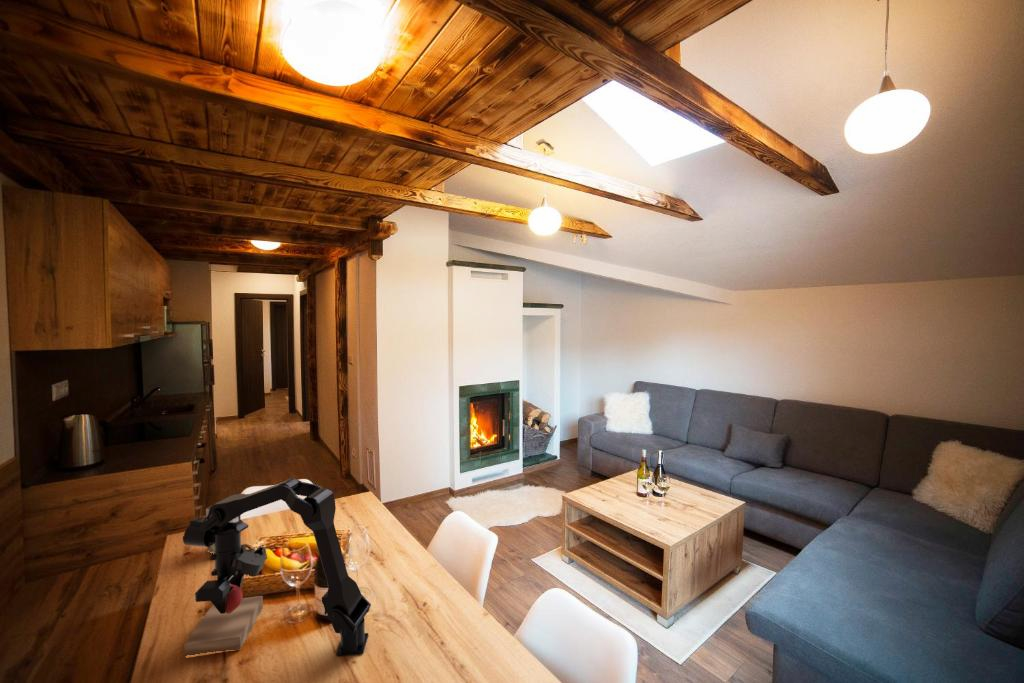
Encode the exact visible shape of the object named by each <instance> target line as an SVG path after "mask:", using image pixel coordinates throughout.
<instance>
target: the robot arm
mask: <svg viewBox="0 0 1024 683" xmlns="http://www.w3.org/2000/svg"><path fill="white" fill-rule="evenodd" d="M299 496H302V497H304V498H301V497H299ZM279 501H283V502H284V503H285V504H286V505H287V506H288V508H289V509H290V511H292V512H294V513H295V514H298V515H299V516H300V518H301V521H302V522H303V524H304V526H306V527H307V528H308V529H309V530H310V531H312V533H313V536H314V537H313V538H314V540H315V543H316V547H317V549H318V555H319V558H320V560H321V565H322V569H323V573H324V576H325V579H326V583H327V591H326V592H325V593H324V595H322V597H321V603H322V605H323V608H324V615H327V617H328V620H329V621H330V622H331V624H332V625H331V626H332V629H333V630H334V633H335V634H339V635H340V642H339V644H338V646H337V651H336V653H335V656H336V657H342V656H352V655H363V654H364V653H365V648H366V646H367V643H368V639H369V633H368V632H366V631H365V624H366V623H365V620H366V619H365V617H366V615H367V613H369V612H370V610H371V605H372V604H371V603H370V602H369V601H368V600H367V598H366V597H365V596H364V595H363V593H362V592H361V590H360V588H359V586H358V583H357V582H356V581H355V580H354V579H353V578H352V577H351V576H349V574H348V570H347V566H346V562H345V560H344V556H343V551H342V548H341V544H340V540H339V538H338V533H337V530H336V526H335V516H336V509H337V508H336V498H335V494H334V493H333V491H332V490H330V489H328V488H325V487H322V486H320V485H318V484H315V483H310V482H306V481H305V482H304V481H302V480H300V479H297V478H295V477H294V478H293V477H291V478H288V479H286V480H285V481H282V482H279V483H277V484H273V485H270V486H268V487H265V488H263V489H260V490H257V491H254V492H251V493H237V494H232V495H229V496H228V497H225V498H223V499H221V500H220V501H218V502H216V503H214V504H213V505H210V506H209V507H210V508H209V509H210V510H209V514H208V516H207V517H206V516H205V518H203V517H194V518H193V519H191V520H189V525H188V526H187V528H186V529H185V531H184V534H183V536H182V542H183V544H184V545H186V546H192V547H204V548H207V547H209V546H212V545H213V544H214V548H215V553H214V554H212V555H210V561H214V569H213V570H212V571H211V575H210V576H211V577H215V576H216V579H215V580H214V579H213V580H206V581H205V582H204V583H203V584H202V585H201V586H200V588H199V589H197V591H196V592H194V600H195V602H196V603H201V602H210V603H211V604H212V605H214V606H215V607H216V609H217V610H218V611H219V612H220V613H221V614H223V613H225V612H226V608H227V599H228V594H229V593H230V591H231V590H232V589H233V588H234V587H230V584H232V585H236V586H238V587H239V588H240V589H241V588H242V585H243V581H244V578H245V575H247V576H249V577H257V576H258V574H259V573H260V572H261V570H263V567H264V565H265V562H266V560H267V559H268V556H267V555H268V554H267V552H266V550H267V549H266V547H265V546H263V545H262V546H260V545H259V546H258V547H257V548H256V549H254V548H250V549H249V548H247V549H246V546H245V544H242V532H243V531H245V530H246V529H247V528H249V524H248V523H246V522H244V521H243V520H242V519H241V520H239V521H237V522H230V521H231V520H233V519H235V518H236V517H238V516H240V517H241V515H243V514H244V513H246V512H249V511H252V510H255V509H258V508H261V507H264V506H267V505H270V504H272V503H276V502H279ZM241 590H242V589H241Z"/></svg>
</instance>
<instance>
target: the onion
mask: <svg viewBox="0 0 1024 683" xmlns="http://www.w3.org/2000/svg"><path fill="white" fill-rule="evenodd" d="M230 587H234V588H233V589H232V590H231V591H230V593H229V594H228V599H227V608H226V612H225V613H227V614H229V613H231V612H232V611H234V610H235V609H236V608H237V607H238V606H239V605H240V603H241V601H242V598H244V597H243V596H244V595H243V594H244V593H243V591H242V589H240V588H239V587H238V586H236V585H232V584H230Z"/></svg>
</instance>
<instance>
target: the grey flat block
mask: <svg viewBox="0 0 1024 683" xmlns="http://www.w3.org/2000/svg"><path fill="white" fill-rule="evenodd" d="M263 599H264V598H263V595H258V596H249V597H242V601H241V603H240V605H239V606H238V607H237V608H236V609H235V610H234V611H232V612H231V613H229V614H227V613H223V614H221V613H220V612H219V611H218V610H217V609H216V607H215V606H214V605H213V604H212V605H211V606H210V608H209V609H208V610H207V612H206V614H205V615H204V616H203V618H202V619H201V621H200V622H199V623H198V625H196V627H195V629H194V631H193V632H192V633H191V635H190V636H189V637H188V639H187V640H186V641H185V643H184V645H183V646H184V647H183V648H184V649H183V650H184V657H185V656H187V655H195V654H200V653H207V652H214V651H215V652H216V651H226V650H238V649H239V650H240V649H241V650H242V648H243V647H242V645H243V643H244V642H245V643H246V641H247V639H246V638H248V637H249V635H250V633H251V631H252V629H253V627H254V626H255V624H256V622H257V619H258V617H260V614H261V612H262V610H263V609H264V606H263V604H264V602H263ZM253 625H254V626H253ZM248 634H249V635H248ZM247 636H248V637H247ZM245 640H246V641H245ZM245 643H244V644H245ZM243 646H244V645H243ZM241 647H242V648H241ZM241 650H240V651H241Z"/></svg>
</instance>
